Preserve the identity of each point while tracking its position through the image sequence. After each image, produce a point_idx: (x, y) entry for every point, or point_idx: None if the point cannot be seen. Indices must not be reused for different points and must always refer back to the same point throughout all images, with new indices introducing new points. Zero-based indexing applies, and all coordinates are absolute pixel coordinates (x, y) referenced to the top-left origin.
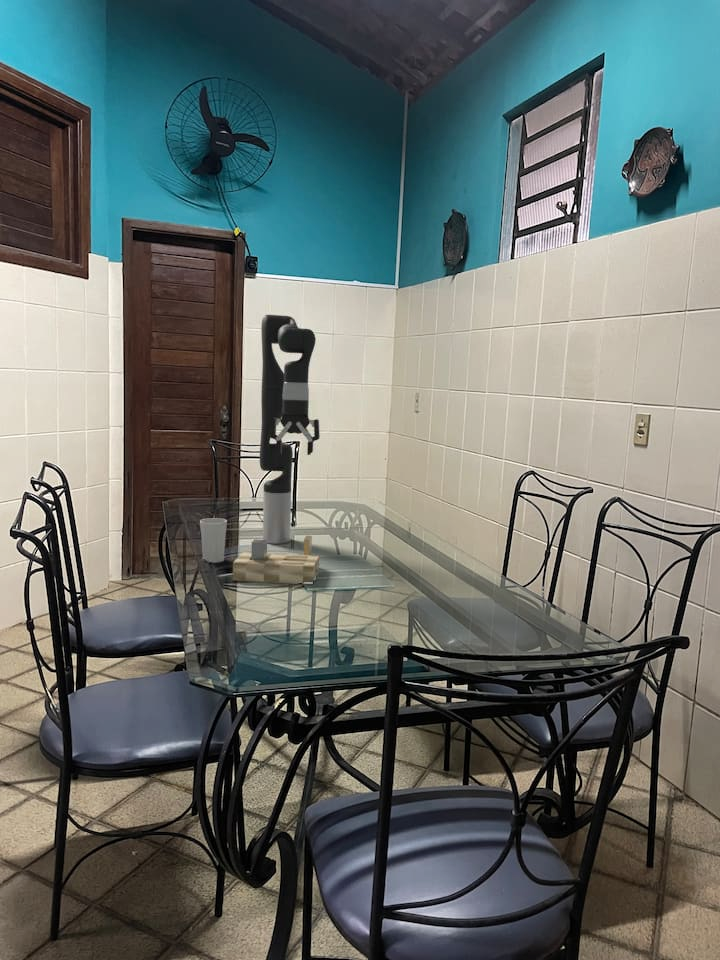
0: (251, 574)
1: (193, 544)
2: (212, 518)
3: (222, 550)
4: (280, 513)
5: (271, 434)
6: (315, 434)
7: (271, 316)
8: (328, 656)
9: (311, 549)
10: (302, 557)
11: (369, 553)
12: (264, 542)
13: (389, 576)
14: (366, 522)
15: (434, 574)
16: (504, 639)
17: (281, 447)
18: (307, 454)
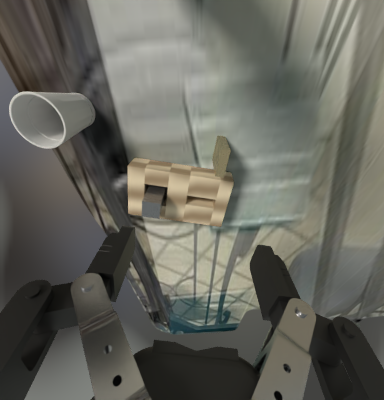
0: None
1: None
2: (22, 94)
3: (87, 121)
4: None
5: (34, 336)
6: (326, 382)
7: None
8: (215, 317)
9: (227, 143)
10: (210, 191)
11: (347, 44)
12: (158, 216)
13: (315, 185)
14: None
15: (380, 176)
16: (326, 306)
17: (126, 257)
18: (250, 263)
